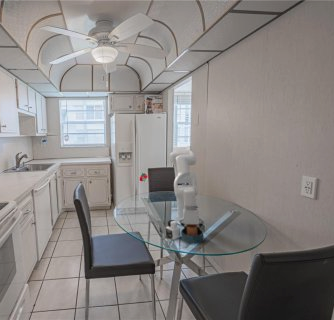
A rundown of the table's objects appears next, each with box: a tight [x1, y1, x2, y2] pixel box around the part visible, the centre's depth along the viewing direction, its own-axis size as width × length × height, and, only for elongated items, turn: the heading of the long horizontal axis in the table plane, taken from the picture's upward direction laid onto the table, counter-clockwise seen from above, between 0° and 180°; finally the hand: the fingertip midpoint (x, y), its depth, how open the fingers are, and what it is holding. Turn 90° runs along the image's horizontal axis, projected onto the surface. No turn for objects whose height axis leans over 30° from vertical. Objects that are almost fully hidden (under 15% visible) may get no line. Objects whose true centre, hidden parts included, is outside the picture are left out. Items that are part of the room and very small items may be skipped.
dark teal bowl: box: [180, 228, 205, 244], centre depth 145 cm, size 14×14×6 cm
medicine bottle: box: [165, 219, 181, 241], centre depth 151 cm, size 7×7×12 cm
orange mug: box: [186, 224, 198, 236], centre depth 147 cm, size 11×7×9 cm
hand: (192, 232), depth 145 cm, fingers closed on orange mug, 7 cm apart
